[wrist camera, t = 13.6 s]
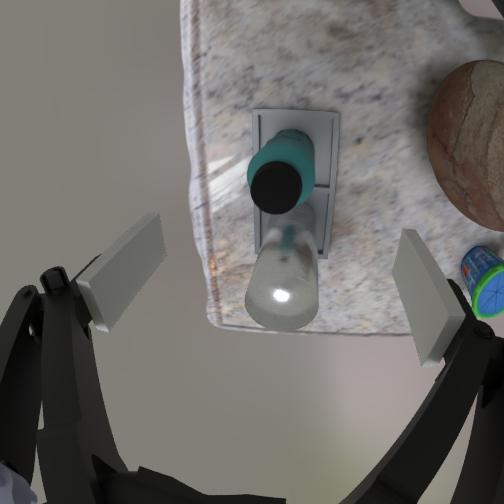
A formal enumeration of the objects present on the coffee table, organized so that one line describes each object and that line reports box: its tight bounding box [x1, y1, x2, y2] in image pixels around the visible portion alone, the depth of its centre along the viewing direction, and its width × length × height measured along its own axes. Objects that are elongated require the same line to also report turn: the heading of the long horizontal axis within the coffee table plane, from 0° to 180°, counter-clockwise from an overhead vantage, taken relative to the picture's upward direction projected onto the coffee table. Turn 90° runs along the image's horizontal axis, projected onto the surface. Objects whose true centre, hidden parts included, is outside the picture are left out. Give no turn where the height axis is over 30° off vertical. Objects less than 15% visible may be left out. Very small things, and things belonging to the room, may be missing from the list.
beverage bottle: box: [247, 128, 317, 215], centre depth 30 cm, size 6×7×20 cm
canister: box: [245, 201, 319, 331], centre depth 35 cm, size 7×7×20 cm
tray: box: [252, 109, 340, 259], centre depth 41 cm, size 12×22×2 cm, turn 1°
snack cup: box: [462, 247, 504, 319], centre depth 37 cm, size 16×10×10 cm
